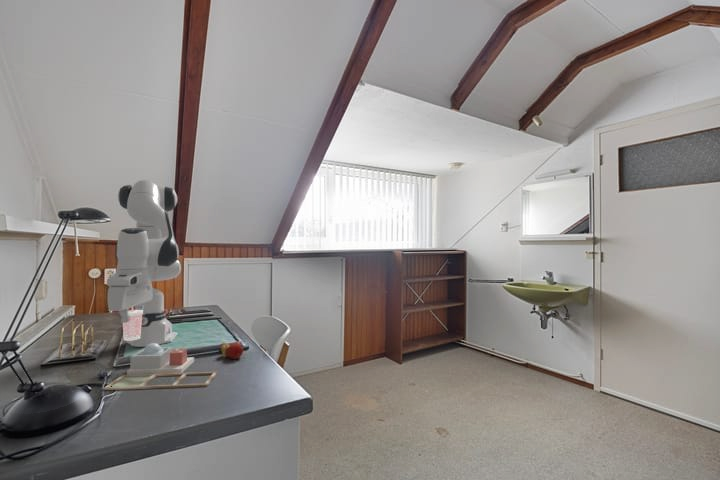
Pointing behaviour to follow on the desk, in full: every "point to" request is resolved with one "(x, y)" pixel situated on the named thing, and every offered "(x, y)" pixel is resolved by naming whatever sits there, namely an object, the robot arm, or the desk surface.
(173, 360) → the dome housing
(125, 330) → the beverage cup
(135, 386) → the wooden window frame
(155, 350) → the dome
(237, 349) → the kendama
